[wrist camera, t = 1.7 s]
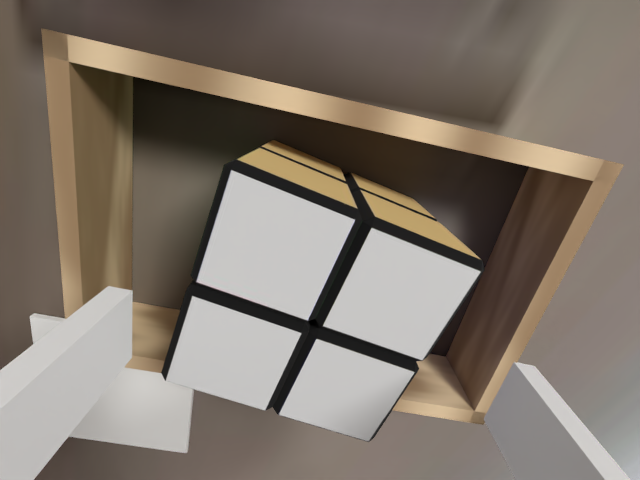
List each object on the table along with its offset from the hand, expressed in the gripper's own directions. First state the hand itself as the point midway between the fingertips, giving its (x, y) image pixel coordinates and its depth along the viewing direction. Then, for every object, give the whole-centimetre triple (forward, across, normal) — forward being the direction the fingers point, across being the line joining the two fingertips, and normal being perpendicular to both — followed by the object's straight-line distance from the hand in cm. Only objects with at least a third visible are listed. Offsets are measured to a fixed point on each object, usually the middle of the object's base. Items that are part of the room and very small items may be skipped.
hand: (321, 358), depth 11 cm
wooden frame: (+11, -1, 0) cm, 11 cm away
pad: (+11, -14, -16) cm, 24 cm away
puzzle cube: (+12, -1, 0) cm, 12 cm away
